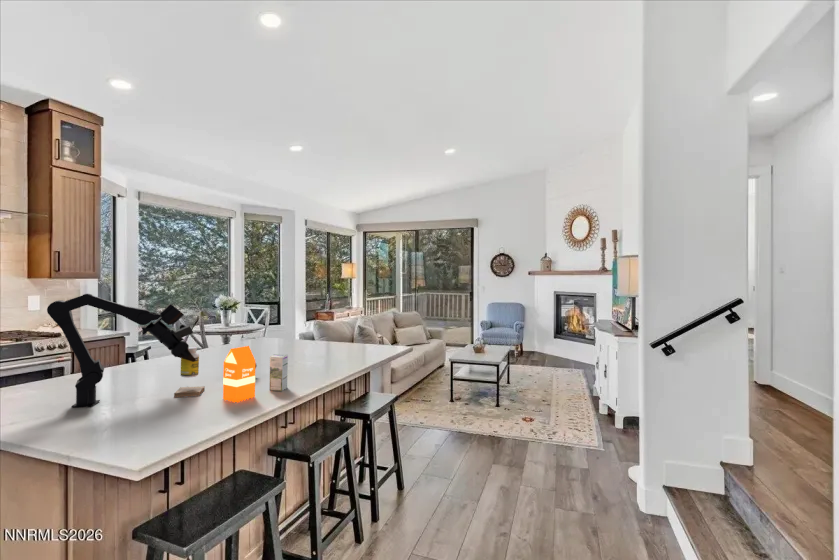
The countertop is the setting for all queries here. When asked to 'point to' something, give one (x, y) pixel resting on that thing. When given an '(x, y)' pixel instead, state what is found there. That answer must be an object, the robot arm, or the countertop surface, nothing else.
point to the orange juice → (239, 375)
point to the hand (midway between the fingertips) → (193, 359)
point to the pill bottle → (190, 364)
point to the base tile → (189, 391)
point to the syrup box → (278, 372)
